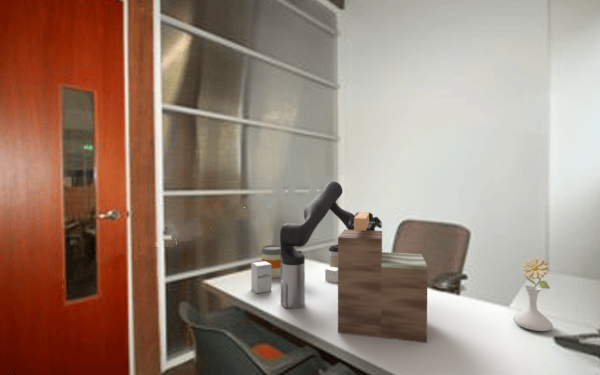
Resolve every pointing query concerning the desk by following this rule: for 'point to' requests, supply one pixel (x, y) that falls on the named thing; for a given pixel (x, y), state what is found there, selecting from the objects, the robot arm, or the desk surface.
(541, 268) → the flower in vase
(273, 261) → the reusable coffee cup
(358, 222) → the terracotta bar
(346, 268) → the stepped stand
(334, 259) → the coffee cup
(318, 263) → the desk surface
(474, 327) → the desk surface
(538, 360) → the desk surface
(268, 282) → the supplement box
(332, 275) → the white cube
